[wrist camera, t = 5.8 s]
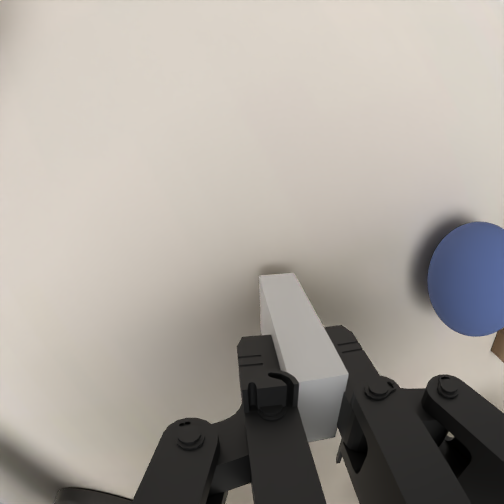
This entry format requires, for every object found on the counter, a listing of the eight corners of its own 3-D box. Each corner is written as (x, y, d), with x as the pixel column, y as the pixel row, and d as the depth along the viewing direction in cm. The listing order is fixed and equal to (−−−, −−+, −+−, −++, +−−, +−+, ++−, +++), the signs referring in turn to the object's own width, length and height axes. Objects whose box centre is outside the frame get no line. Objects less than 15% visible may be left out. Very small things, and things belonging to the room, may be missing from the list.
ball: (490, 304, 16) (411, 299, 18) (509, 215, 14) (425, 205, 16) (522, 358, 11) (426, 359, 13) (559, 248, 9) (455, 236, 10)
